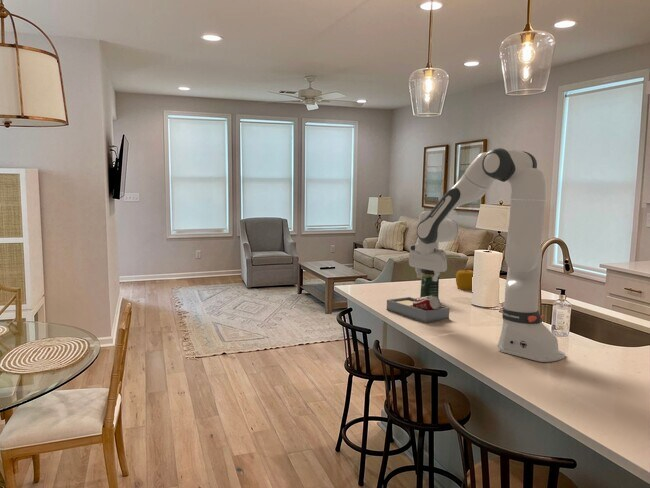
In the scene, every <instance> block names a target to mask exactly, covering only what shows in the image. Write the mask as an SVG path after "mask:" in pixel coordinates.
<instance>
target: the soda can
mask: <svg viewBox="0 0 650 488" xmlns="http://www.w3.org/2000/svg"><path fill="white" fill-rule="evenodd" d="M440 305H441V300H440V299H439V298H438V297H435V296H432V295H431V296H426V297H416V298H415V300H414V301H413V307H415V308H418V309H422V310H425V311H428V310H435V309H438V308H439V307H440Z"/></svg>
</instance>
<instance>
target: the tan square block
mask: <svg viewBox="0 0 650 488" xmlns="http://www.w3.org/2000/svg"><path fill="white" fill-rule="evenodd" d="M398 303H401V304H405V305H408V306H411V307H413V302H412V301H409V300H405V301H398Z"/></svg>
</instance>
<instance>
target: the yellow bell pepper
mask: <svg viewBox="0 0 650 488" xmlns="http://www.w3.org/2000/svg"><path fill="white" fill-rule="evenodd" d="M473 271H474V270H471V269H465V270H464V269H462V270H457V272H456V274H455V283H456V288H457V289H459V290H461V291H462V290H463V291H473V290H472V277H473Z"/></svg>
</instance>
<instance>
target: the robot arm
mask: <svg viewBox="0 0 650 488" xmlns="http://www.w3.org/2000/svg"><path fill="white" fill-rule="evenodd" d="M537 167H538V161H537V159H536V157H535V156H534V155H532V153H530V152H527V151H524V150H523V151H521V150H517V149H514V148H502V147H499V148H498V147H497V148H494V149H491V150H489V151H484V152H480V153H479V154H478V155H477V156H476V157H475V158H474V159H473V160H472V162H471V163H470V164H469V165H468V166H467V168H466V170H465V171H464V173H463V174H462V175H461V177H460V178H459V179H458V180H457V182H456V183H455V184H454V185H453V186H452V187H451V188H449V189H448V190H447V191H446V192H445V193H444V194H443V196H442V197H441V198H440V199H439V200H438V202H437V203H436V205H434V207H433V208H432V209H427V210H424V211H422V212H420V214H419V216H418V224H417V228H416V235H417V242H416V243H414V244H411V245H409V246H408V247H409V248H408V250H409V253H408V265H409V267H412V268H414V271H415V273H416V278H418V279H421V278H422V274H421V269H427V270H433V271H434V273H435V275H434V277H432V281H438V276H439V277H440V275H439V274H441V273H442V272H443V273H444V272H446V271H447V269H448V259H447V253H446V252H445V250H444V249H440V248H439V244H440V243H445V242H451V241H454V240H455V239H456V238H457V236H458V233H459V226H458V224H457V222H456V221H455V220H453V219H451V218H448V216H449V215H450V214H451V212H452V211H454V210H456V208H459V207H461V206H464V205H466V204H470V203H474V202H477V201H479V200H481V198H482V197H484V196H485V195H486V193H487V192H488V191H489V189H490V187H491V186H492V185H493V183H494V182H495V180H497V181H500V182H503V183H505V182H508V183H509V184H510V187H511V193H510V194H511V195H510V207H509V220H508V227H507V228H508V229H507V235H506V241H505V242H506V243H505V251H504V261H505V263H506V266H507V274H506V279H505V280H506V282H505V287H504V302H503V303H504V305H503V307H502V316H501V318H502V327H501V332H500V336H499V339H498V342H497V347H498V348H499V351H500V352H501V353H505V354H509V355H513V356H517V357H520V358H525V359H528V360H532V361H535V362H539V363H540V362H541V363H550V362H557V361H560V360H563V359H565V357H566V353H565V352H564V351H561V350H559V343H558V341H559V340H558V338H557V336H556V335H554V333H552V331H551V330H549V328H547V326H546V325H545V324H544V323H543V321H542V319H545V314H541V313H540V311H539V310H538V308H539V307H538V306H539V294H540V293H539V292H540V280H541V270H542V259H543V257H542V256H543V251H542V247H541V244H542V238H543V237H542V235H543V230H544V229H543V226H544V221H545V220H544V218H545V205H546V182H545V175H544V172H543V171H541V169H538V168H537Z"/></svg>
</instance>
